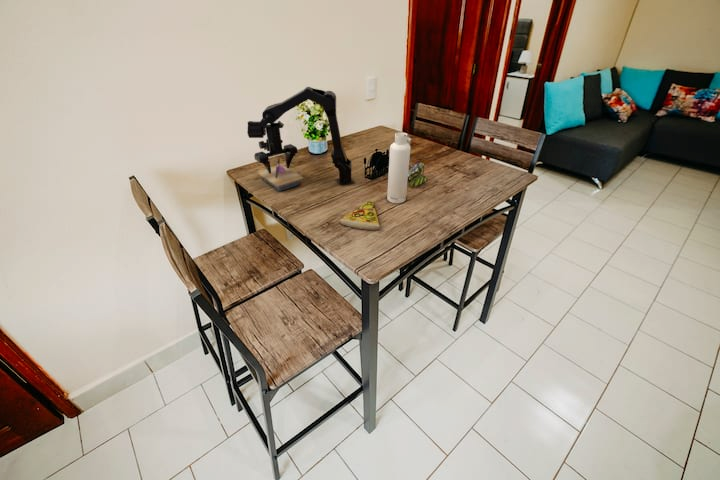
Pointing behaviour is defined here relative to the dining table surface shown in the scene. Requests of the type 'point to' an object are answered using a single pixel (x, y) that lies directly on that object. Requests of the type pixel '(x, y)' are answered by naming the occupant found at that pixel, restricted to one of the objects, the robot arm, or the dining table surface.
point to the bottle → (398, 169)
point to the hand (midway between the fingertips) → (279, 171)
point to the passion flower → (418, 177)
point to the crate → (283, 186)
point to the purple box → (279, 168)
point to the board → (280, 176)
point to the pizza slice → (362, 218)
